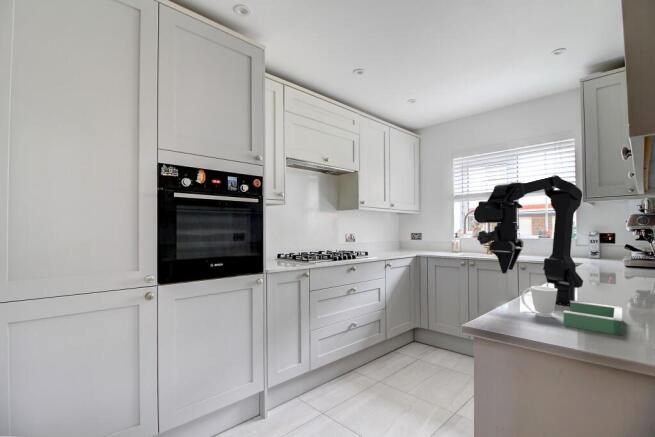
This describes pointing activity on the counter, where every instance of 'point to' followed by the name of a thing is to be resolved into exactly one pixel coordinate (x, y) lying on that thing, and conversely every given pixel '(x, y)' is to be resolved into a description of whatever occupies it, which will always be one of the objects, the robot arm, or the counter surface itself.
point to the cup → (542, 300)
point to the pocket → (594, 317)
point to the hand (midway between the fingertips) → (507, 271)
